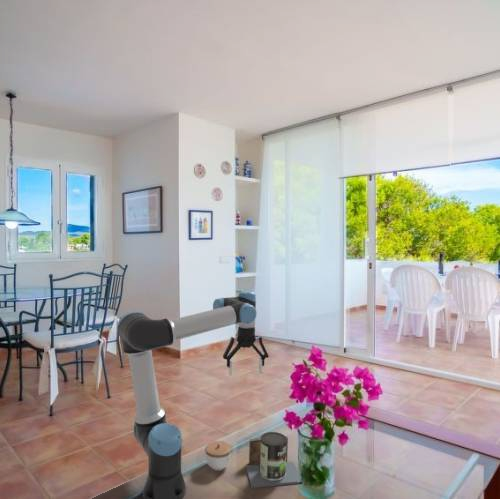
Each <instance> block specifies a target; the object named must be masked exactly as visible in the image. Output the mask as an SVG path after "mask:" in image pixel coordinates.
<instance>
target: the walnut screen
mask: <svg viewBox="0 0 500 499" xmlns="http://www.w3.org/2000/svg"><path fill="white" fill-rule="evenodd" d="M285 436H286V438H287V442H286V462H288V448H289V447H288V445H289V444H288V443H289V442H288V441H289V438H288V436H287V435H285ZM248 452H249V453H248V463H249V465H258V464H260V457H261V437H260V438H257V437H256V438H249V450H248Z"/></svg>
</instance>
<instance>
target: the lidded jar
mask: <svg viewBox="0 0 500 499" xmlns="http://www.w3.org/2000/svg"><path fill="white" fill-rule="evenodd" d="M232 450H233V449H232V446H231V444H230V443H228V442H226V441H222V440H215V441H212V442H209V443H208V444H206V446H205V449H204V452H205V453H204V454H205V456H204V457H205V461H206V464H207V465H208V467H210V469H211V468H212V469H211V470H213V469H214V470H213V471H216V472H218V471H219V472H220V471H223V470H224V469H225V468H226V467H227V466H228V465H229V464H230V461H231V458H232ZM217 470H218V471H217Z"/></svg>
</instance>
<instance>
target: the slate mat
mask: <svg viewBox="0 0 500 499" xmlns="http://www.w3.org/2000/svg"><path fill="white" fill-rule="evenodd" d="M245 470H246V474H247V477H248V480H249V483H250V484H249V485H250V487H251V489H252V488H253V489H254V488H264V487H273V486H275V487H276V486H283V485H295V484H299V483H298V472H299V471H298V468H297V466H296V464H295V463H294V461H286V475H285V477H284V478H283V479H281V480H278V481H270V480H267V479H265V478H263V477H262V476H261V475H260V464H249V465H245Z"/></svg>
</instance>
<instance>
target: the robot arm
mask: <svg viewBox="0 0 500 499" xmlns="http://www.w3.org/2000/svg"><path fill="white" fill-rule="evenodd" d="M256 296H257V295H256V293H255V292H254V291H252V290H242V291H239V293H238V295H237V296H232V297H219V298H215V300H214V301H213V302H212V303H213V304H212V309H210V310H207V311H202V312H198V313H194V314H189V315H185V316H181V317H178V318H173V319H169V318H162V319H152V318H150V317H148V316H147V315H146V314H145V313H143V312H139V311H130V312H127V313H126V314H123V315H122V317H121V318H119V320H118V322H117V325H116V332H117V335H118V336H119V338H120V339H121V340H120V341H121V345H122V352H123V353H124V355H127V356H128V362H129V369H130V374H131V379H132V385H133V387H132V388H133V392H134V399H135V405H136V411H137V413H136V414H135V416H134V417H133V418H134V424H133V433H134V437H135V440H136V441H137V443H138V444H139V445H140V446H141V447H142V450H143V452H145V454H146V456H147V460H148V468H147V469H148V472H147V473H148V474H147V477H146V480H145V483H144V486H143V489H142V498H144V499H184V497H185V495H186V481H185V478H184V476H183V473H182V445H183V438H182V433H181V432H182V431H181V429H180V428H179V427H178V426H177V425H174V424H171V423H168V422H167V417H166V412H165V409H164V408H163V407H162V406H161V404H160V398H159V390H158V384H157V379H156V372H155V371H156V370H155V366H154V359H153V350H158V349H161V348H165V347H168V346H172V345H173V344H174V343H175V341H178V340H183V339H186V338H190V337H193V336H197V335H200V334H204V333H208V332H212V331H215V330H218V329H222V328H226V327H229V326H232V325H233V326H234V325H236V324H237V325H238V327H237V337H234V336H230V340H229V343H228V345H227V347H226V349H225V351H224V353H223V354H222V357H223V360H226V367H227V368H228V374H229V376H233V373H232V371H233V368H232V366H233V364H232V363H233V360H232V358H233V357H234V356H235V355H236V353H238V351H239V350H240V349H245V348H251V347H252V349H254V351H255V352H256V353H257V354H258V356H259V358H258V359H259V360H258V361H259V362H258V373H259V374H260V375H262V374H263V367H265V360H266V359H267V358H269V357H270V356H269V353H268V352H267V351H268V350H266V348H265V345H264V343H263V338H262V337H261V335H258V336H257V337H256V327H255V326H256V318H257V313H258V312H257V309H256V308H257V307H256V304H257V300H256V299H257V297H256ZM236 342H237V343H236ZM255 342H258V344H259V346H260V348H261V350H262V352H261V351H260V350H259V349H258V347H257V346H256V345H255ZM234 343H236V346H235V347H234V348H233V346H234ZM232 348H233V349H232ZM231 349H232V350H231Z"/></svg>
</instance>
